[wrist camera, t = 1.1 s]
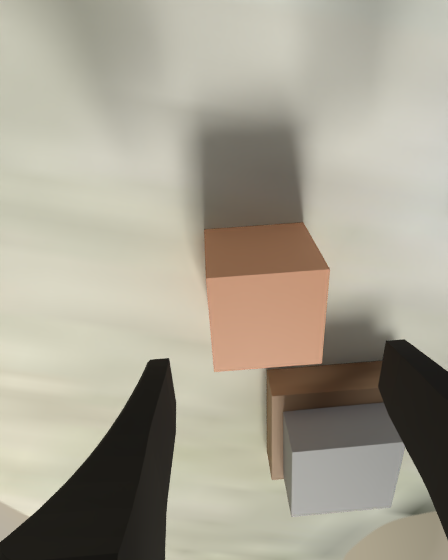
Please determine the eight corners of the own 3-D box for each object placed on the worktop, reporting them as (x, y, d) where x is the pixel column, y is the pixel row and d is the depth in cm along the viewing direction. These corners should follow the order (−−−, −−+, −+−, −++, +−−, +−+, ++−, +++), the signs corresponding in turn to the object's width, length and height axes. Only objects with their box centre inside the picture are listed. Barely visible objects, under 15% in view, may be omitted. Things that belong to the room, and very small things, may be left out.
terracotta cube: (302, 221, 19) (329, 269, 15) (299, 303, 21) (321, 363, 17) (204, 228, 19) (205, 278, 15) (211, 310, 21) (214, 371, 17)
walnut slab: (387, 354, 24) (405, 385, 22) (372, 436, 27) (386, 470, 25) (265, 363, 24) (271, 396, 22) (266, 444, 27) (271, 479, 25)
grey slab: (386, 401, 22) (406, 441, 20) (374, 466, 25) (391, 507, 23) (283, 411, 22) (292, 452, 20) (283, 475, 25) (291, 516, 23)
